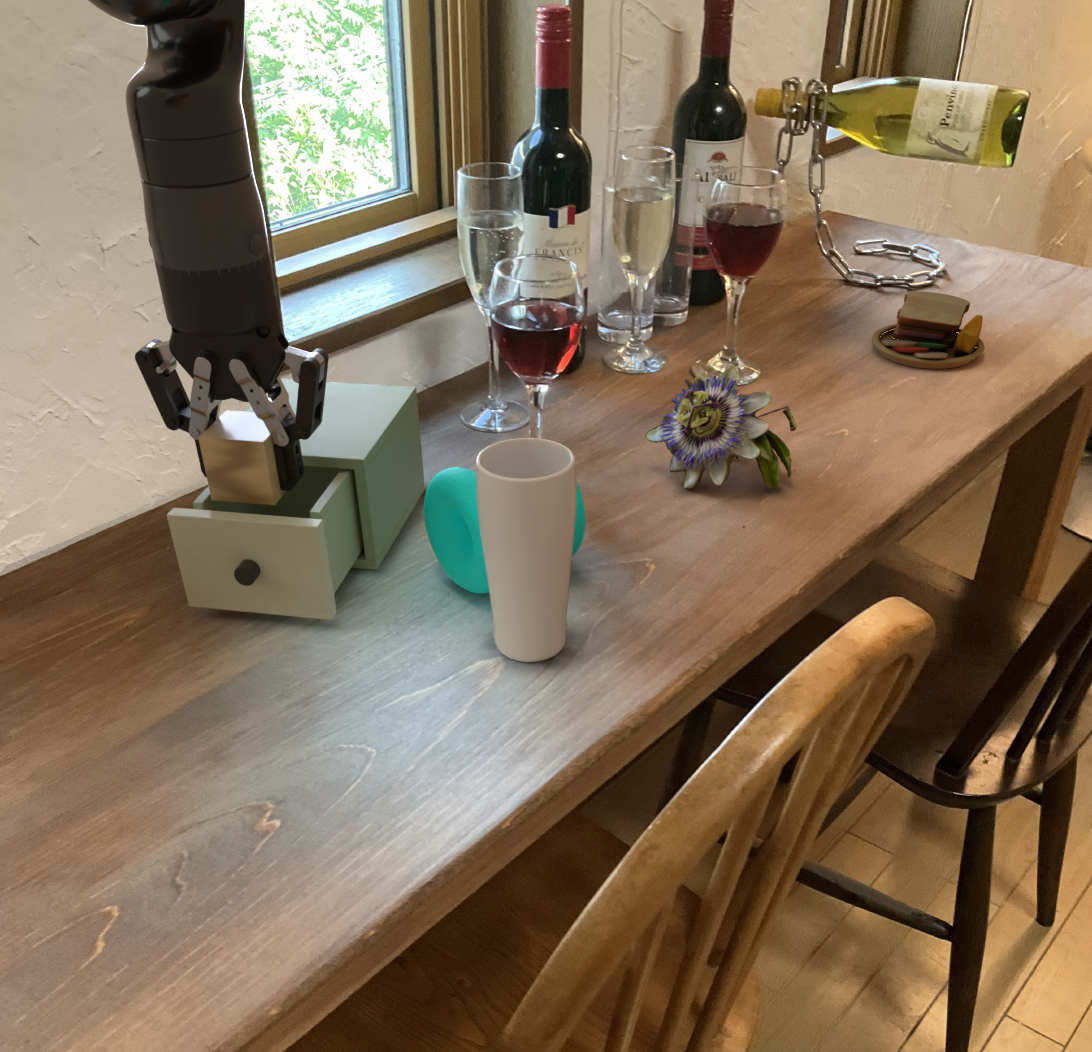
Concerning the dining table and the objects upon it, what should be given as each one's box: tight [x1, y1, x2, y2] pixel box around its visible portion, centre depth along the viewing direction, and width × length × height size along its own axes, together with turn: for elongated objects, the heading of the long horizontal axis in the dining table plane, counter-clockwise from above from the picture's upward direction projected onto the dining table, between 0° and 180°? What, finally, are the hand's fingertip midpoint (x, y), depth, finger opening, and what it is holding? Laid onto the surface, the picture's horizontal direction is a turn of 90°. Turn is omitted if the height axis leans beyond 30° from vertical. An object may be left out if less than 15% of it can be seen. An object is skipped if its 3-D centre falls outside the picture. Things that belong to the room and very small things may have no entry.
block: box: [198, 409, 286, 505], centre depth 84 cm, size 5×5×5 cm
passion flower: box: [644, 363, 798, 492], centre depth 104 cm, size 11×11×12 cm
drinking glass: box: [475, 437, 577, 663], centre depth 79 cm, size 7×7×15 cm
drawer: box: [166, 466, 364, 621], centre depth 89 cm, size 15×12×8 cm
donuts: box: [423, 466, 587, 595], centre depth 89 cm, size 10×10×10 cm
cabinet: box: [245, 378, 426, 571], centre depth 97 cm, size 15×13×10 cm
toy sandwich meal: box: [871, 291, 986, 370], centre depth 129 cm, size 12×14×5 cm
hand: (254, 482), depth 85 cm, fingers closed on block, 5 cm apart
